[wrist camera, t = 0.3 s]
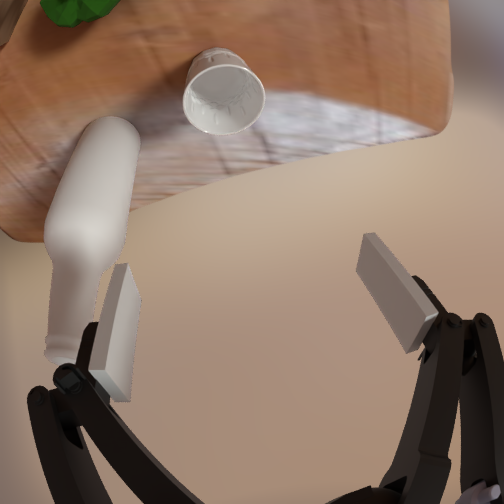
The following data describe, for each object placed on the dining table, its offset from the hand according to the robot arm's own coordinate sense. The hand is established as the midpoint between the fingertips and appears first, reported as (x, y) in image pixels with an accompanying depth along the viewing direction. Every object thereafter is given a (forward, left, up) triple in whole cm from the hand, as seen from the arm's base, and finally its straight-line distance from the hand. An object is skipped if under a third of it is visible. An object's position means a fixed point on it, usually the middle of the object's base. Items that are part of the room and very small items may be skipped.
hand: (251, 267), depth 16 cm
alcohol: (+15, -7, -28) cm, 32 cm away
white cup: (-1, -1, -28) cm, 28 cm away
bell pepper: (-3, -20, -28) cm, 34 cm away
